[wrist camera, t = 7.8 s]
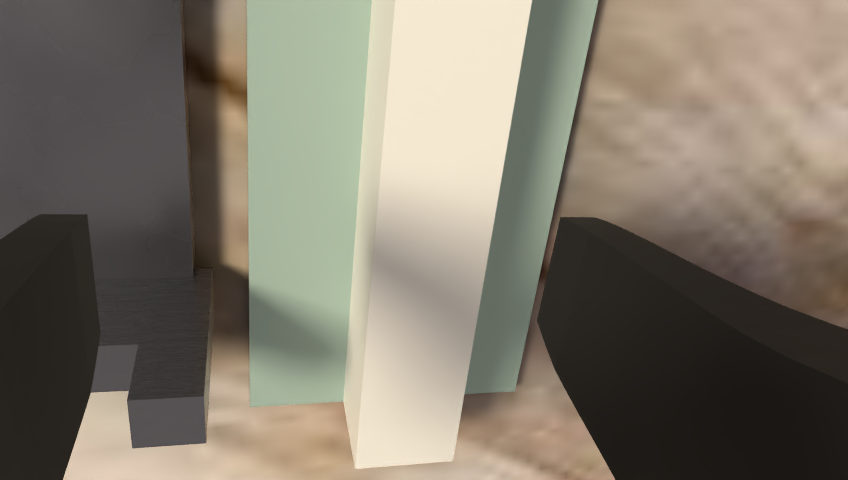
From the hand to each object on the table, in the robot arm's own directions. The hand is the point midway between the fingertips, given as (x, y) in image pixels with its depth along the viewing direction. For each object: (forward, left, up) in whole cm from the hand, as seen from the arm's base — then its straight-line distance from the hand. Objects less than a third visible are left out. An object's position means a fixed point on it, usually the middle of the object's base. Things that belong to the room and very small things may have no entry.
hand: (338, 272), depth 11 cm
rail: (0, -3, -9) cm, 9 cm away
